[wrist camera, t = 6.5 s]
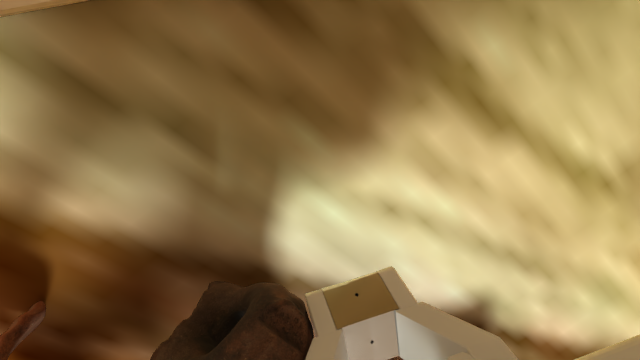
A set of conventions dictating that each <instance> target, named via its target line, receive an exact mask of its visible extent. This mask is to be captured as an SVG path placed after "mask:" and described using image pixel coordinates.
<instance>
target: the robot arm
mask: <svg viewBox="0 0 640 360" xmlns="http://www.w3.org/2000/svg"><path fill="white" fill-rule="evenodd" d="M305 298H306V302H307V306H308V310H309V314H310V318H311V321H312V325H313V329H314V333H315V337H316V338H313V339H312V342H311V345H310V348H309V350H308V353H307V356H306V359H305V360H388V359H391V358H394V357H397V356H400V357H401V358H402V359H403V360H518V359H517V357H516V356H515V355H514V354H513V353H512V351H511V350H510V349H509V348H508V347H507V345H506V344H505V343H504V342H503V341H502V340H501V338H500V337H498V336H496V335H493V334H491V333H489V332H487V331H485V330H483V329H481V328H478V327H476V326H474V325H472V324H470V323H468V322H465V321H463V320H461V319H459V318H457V317H455V316H452V315H450V314H448V313H446V312H444V311H442V310H439V309H437V308H435V307H433V306H431V305H429V304H426V303H424V302H420V303H417V301H416V300H415V298H414V297H413V295H412V294H411V292H410V291H409V289H408V288H407V286H406V285H405V283H404V282H403V280H402V279H401V277H400V276H399V274H398V273H397V271H396V270H395V268H393V267H392V266H391V267H388V268H385V269H382V270H379V271H376V272H373V273H370V274H367V275H364V276H361V277H358V278H355V279H352V280H349V281H346V282H343V283H339V284H336V285H332V286H329V287H325V288H322V289H320V290H317V291H313V292H309V293H306V294H305ZM575 360H640V335H637V336H635V337H632V338H629V339H627V340H624V341H622V342H619V343H616V344H614V345H611V346H609V347H606V348H603V349H601V350H598V351H596V352H593V353H590V354H588V355H585V356H583V357H580V358H577V359H575Z"/></svg>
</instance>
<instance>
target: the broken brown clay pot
mask: <svg viewBox="0 0 640 360" xmlns="http://www.w3.org/2000/svg"><path fill="white" fill-rule="evenodd" d="M45 312H46V306H45V303H44V302H43V301H39V302H36V303H35V304H34V305H32V306H31V308H30V309H29V310H28V311H27V312H26V313H24V314H22V315H20V316H19V317H18V318H17V319H16V320H15V321H14V322H13V323H12V324H11V325H10V326H9V328H8V329H7V331H6V332H5V333H3V334H2V335H0V360H7V359H8V357H9V355H10V354H11V353H12V351H13V350H14V349H15V348H16V347H17V346H18V345H19V344H20V343H21V341H22V340H24V339H25V338H26V337H27V336H28V335H29V334H30V333H31V332H32V331H33V330H34V329H35V328H36V327H37V326H38V325H39V324H40V323H41V322H42V320H43V318H44V317H45ZM313 338H314V335H313V328H312V325H311V322H310V320H309V318H308V314H307V311H306V307H305V304H304V302H303V301H302V300H301V299H300V298H298V297H297V296H295V295H294V294H292V293H290V292H289V291H288V290H287V289H286V288H285V287H283V286H281V285H279V284H276V283H256V284H253V285H250V286H247V287H245V288H244V287H241V286H238V285H235V284H232V283H228V282H219V281H214V282H211V283H210V284H209V287H208V290H206V291H205V292H204V293H203V295H202V297H201V299H200V300H199V302H198V304H197V307H196V308H195V309H194V311H193V313H192V315H191V316H190V318H188V319H186V320H183V321H182V322H181V323H180V324H179V325H178V326H177V327H176V329H175V330H174V332H173V334H172V335H171V336H170V338H169V339H168V340H166V341H165V342H163V343H162V344H161V345H160V346H159V347H158V348H157V349H156V350H155V352H154V353H153V355H152V357H151V359H150V360H305V359H306V356H307V353H308V350H309V348H310V345H311V342H312V339H313Z"/></svg>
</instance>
